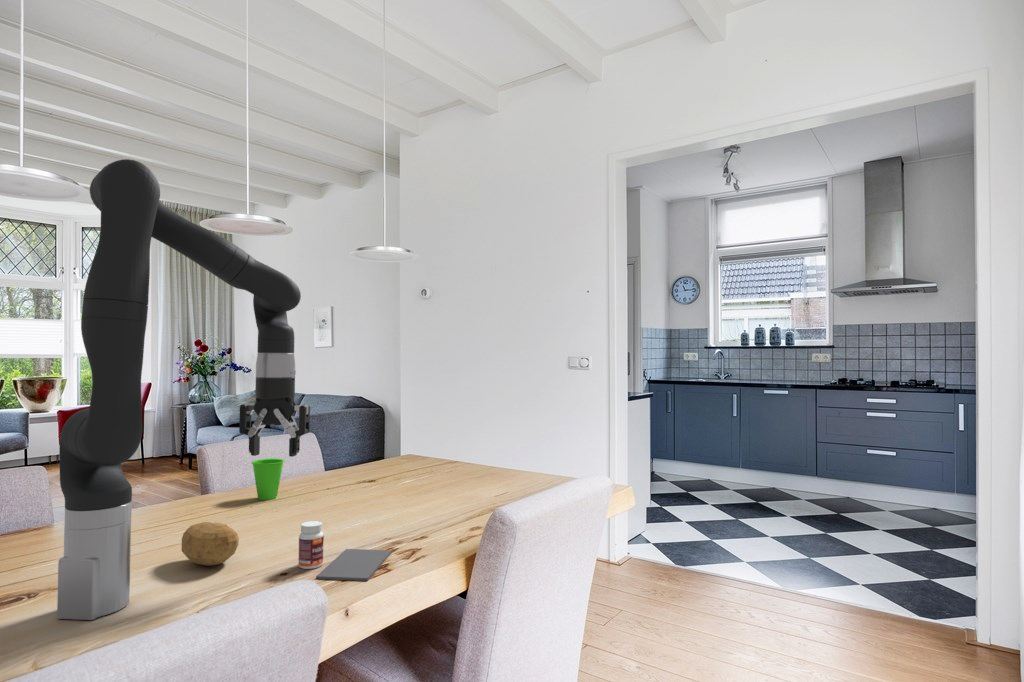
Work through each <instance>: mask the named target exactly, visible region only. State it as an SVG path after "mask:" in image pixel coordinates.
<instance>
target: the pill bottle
mask: <svg viewBox="0 0 1024 682" xmlns="http://www.w3.org/2000/svg"><path fill="white" fill-rule="evenodd" d="M322 529H323V522H321V521H317V520H310V521H309V520H308V521H305V522H302V523H301V524H300V532H301V533H299V535H298V567H299V568H300V569H303V570H313V569H316V568H317V569H318V568H320V567H321V566H323V564H324V539H325V538H324V537H325V536H324V532H323V531H322Z"/></svg>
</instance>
